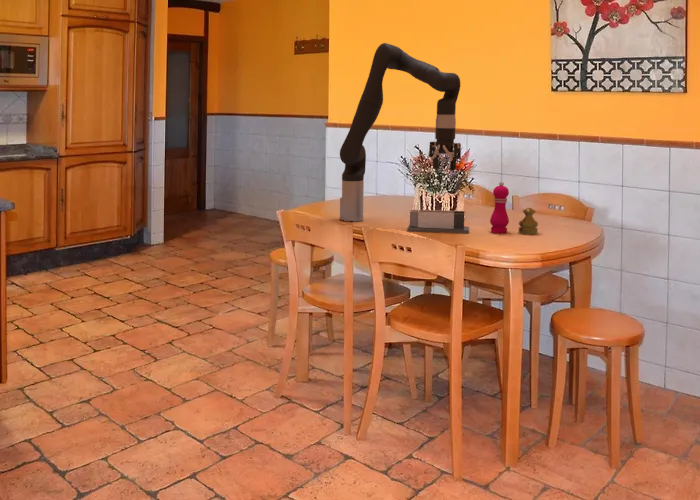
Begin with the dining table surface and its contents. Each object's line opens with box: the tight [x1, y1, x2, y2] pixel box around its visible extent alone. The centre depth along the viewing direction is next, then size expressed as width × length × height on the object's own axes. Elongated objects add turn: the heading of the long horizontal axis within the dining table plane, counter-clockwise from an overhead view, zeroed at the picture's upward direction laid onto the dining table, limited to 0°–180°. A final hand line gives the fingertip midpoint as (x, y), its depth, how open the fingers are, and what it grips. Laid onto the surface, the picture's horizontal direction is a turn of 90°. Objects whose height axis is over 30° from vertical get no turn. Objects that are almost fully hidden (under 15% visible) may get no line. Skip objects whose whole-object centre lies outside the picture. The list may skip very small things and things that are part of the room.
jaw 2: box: [418, 212, 466, 229], centre depth 275 cm, size 18×1×6 cm, turn 80°
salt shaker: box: [518, 207, 539, 236], centre depth 273 cm, size 7×7×10 cm
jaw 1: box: [418, 209, 466, 216], centre depth 280 cm, size 18×1×6 cm, turn 80°
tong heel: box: [409, 209, 420, 227], centre depth 279 cm, size 3×5×6 cm, turn 170°
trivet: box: [407, 223, 470, 235], centre depth 279 cm, size 24×9×1 cm, turn 80°
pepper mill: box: [489, 181, 510, 235], centre depth 274 cm, size 7×7×20 cm
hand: (444, 169), depth 268 cm, fingers open, 8 cm apart
